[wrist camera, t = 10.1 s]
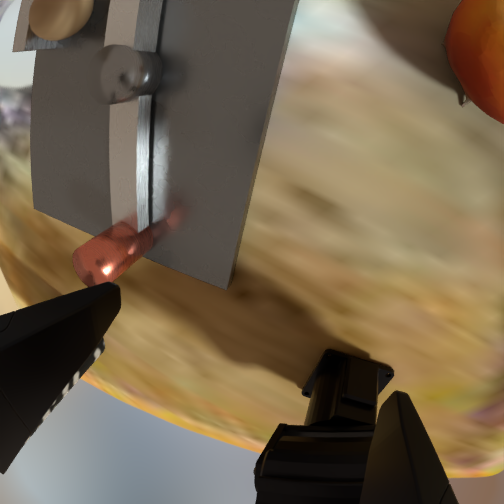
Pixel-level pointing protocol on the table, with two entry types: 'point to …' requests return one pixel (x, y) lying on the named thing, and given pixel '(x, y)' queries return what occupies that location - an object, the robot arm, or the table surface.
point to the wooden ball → (59, 17)
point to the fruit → (479, 53)
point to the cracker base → (164, 126)
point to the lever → (124, 136)
